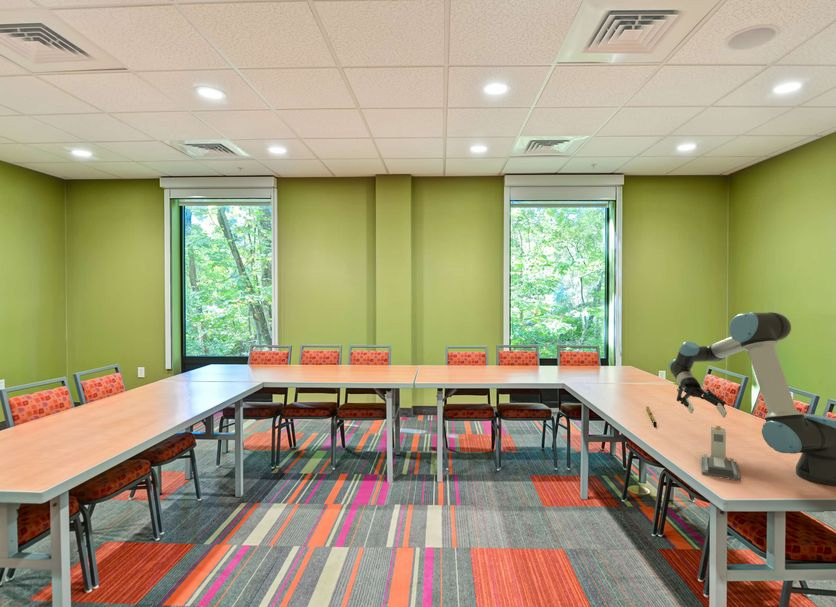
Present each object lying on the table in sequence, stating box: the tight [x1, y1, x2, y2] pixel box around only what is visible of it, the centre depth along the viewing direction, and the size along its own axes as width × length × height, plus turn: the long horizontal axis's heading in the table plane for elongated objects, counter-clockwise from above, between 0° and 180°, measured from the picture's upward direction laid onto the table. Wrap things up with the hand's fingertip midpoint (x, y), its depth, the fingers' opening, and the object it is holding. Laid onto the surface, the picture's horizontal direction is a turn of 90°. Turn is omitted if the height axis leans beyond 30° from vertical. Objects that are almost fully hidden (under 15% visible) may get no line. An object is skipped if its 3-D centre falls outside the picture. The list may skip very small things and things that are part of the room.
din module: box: [710, 425, 727, 460], centre depth 185 cm, size 5×5×13 cm
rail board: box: [700, 454, 741, 481], centre depth 173 cm, size 12×19×3 cm, turn 148°
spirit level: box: [646, 406, 658, 428], centre depth 244 cm, size 33×1×3 cm, turn 158°
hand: (708, 413), depth 189 cm, fingers open, 13 cm apart
